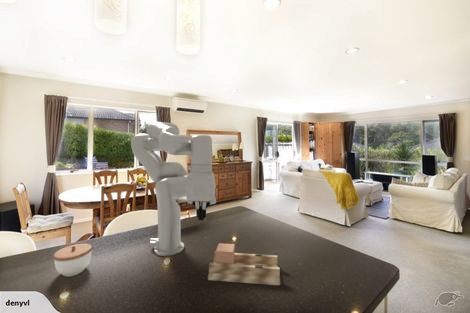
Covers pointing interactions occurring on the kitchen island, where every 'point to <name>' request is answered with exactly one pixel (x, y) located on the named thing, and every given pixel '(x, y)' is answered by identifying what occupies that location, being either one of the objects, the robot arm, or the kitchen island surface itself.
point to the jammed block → (225, 253)
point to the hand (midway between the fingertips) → (201, 219)
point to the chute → (247, 269)
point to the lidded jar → (72, 259)
